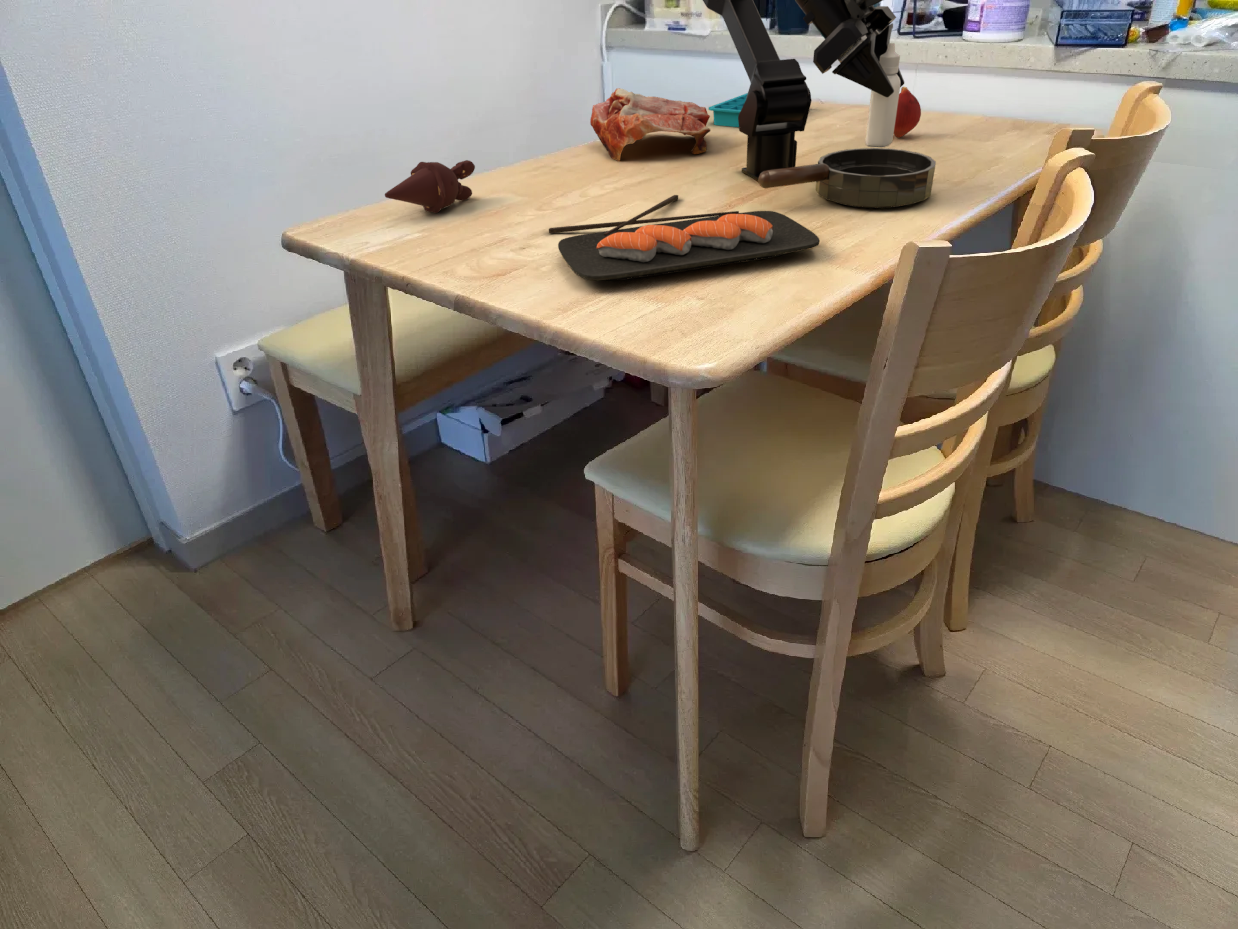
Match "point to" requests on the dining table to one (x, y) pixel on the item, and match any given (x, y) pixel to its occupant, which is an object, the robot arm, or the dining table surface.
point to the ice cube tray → (728, 111)
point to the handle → (793, 175)
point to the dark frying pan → (876, 177)
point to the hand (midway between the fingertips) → (896, 90)
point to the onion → (906, 113)
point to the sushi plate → (680, 243)
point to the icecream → (434, 185)
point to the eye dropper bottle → (884, 104)
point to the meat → (646, 120)
